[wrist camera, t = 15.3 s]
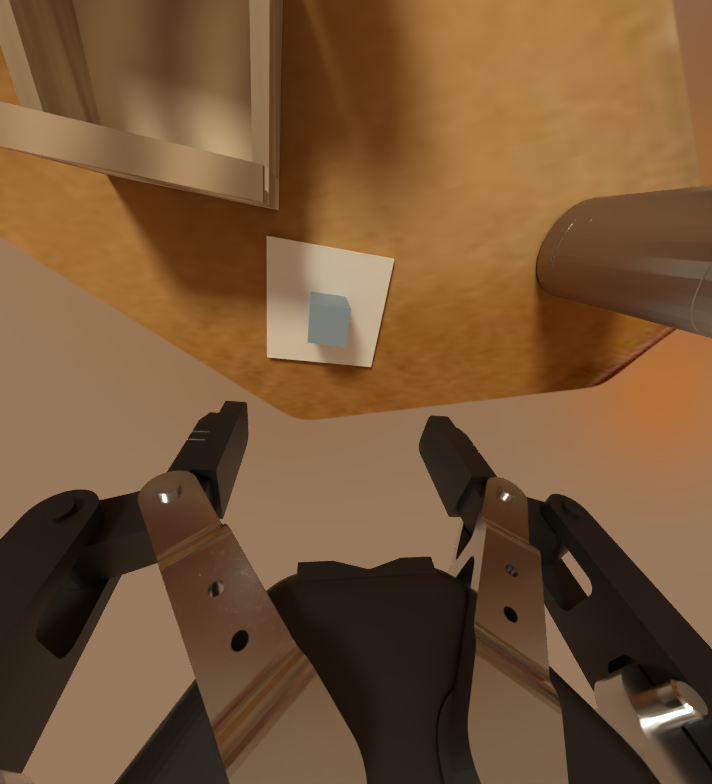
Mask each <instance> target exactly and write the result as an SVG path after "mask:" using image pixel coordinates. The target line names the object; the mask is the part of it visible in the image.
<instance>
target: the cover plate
mask: <svg viewBox="0 0 712 784" xmlns="http://www.w3.org/2000/svg"><path fill="white" fill-rule="evenodd" d="M393 264H394V259H392V258H387V257H382V256H376V255H371V254H365V253H360V252H354V251H349V250H343V249H338V248H332V247H327V246H321V245H316V244H310V243H305V242H299V241H294V240H288V239H283V238H277V237H272V236H267V357H269V358H280V359H290V360H301V361H311V362H322V363H333V364H343V365H354V366H364V367H371V365H372V361H373V356H374V351H375V347H376V342H377V338H378V333H379V328H380V324H381V319H382V314H383V310H384V305H385V301H386V296H387V291H388V287H389V282H390V277H391V273H392V268H393Z"/></svg>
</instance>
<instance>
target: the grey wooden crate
mask: <svg viewBox="0 0 712 784" xmlns="http://www.w3.org/2000/svg"><path fill="white" fill-rule="evenodd" d="M282 29H283V0H0V45H1V48H2V51H3V54H4V57H5V60H6V63H7V66H8V69H9V72H10V75H11V78H12V81H13V84H14V87H15V90H16V93H17V96H18V99H19V102H20V105H21V106H17V105H13V104H9V103H5V102H0V147H3V148H7V149H11V150H15V151H18V152H22V153H26V154H30V155H34V156H37V157H41V158H45V159H49V160H53V161H57V162H60V163H64V164H68V165H72V166H76V167H79V168H83V169H87V170H91V171H95V172H98V173H102V174H106V175H111V176H115V177H120V178H125V179H130V180H135V181H139V182H144V183H149V184H154V185H159V186H163V187H168V188H173V189H178V190H182V191H187V192H192V193H197V194H202V195H206V196H211V197H216V198H221V199H226V200H230V201H235V202H240V203H245V204H250V205H254V206H259V207H264V208H269V209H273V210H278V211H279V178H280V128H281V79H282Z"/></svg>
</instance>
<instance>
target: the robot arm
mask: <svg viewBox="0 0 712 784" xmlns="http://www.w3.org/2000/svg"><path fill="white" fill-rule="evenodd" d="M537 275H538V280H539V282H540V284H541V286H542V287H543V288H544V289H545V291H546V292H548V293H550V294H552V295H556V296H560V297H563V298H567V299H571V300H574V301H578V302H581V303H585V304H588V305H592V306H596V307H599V308H603V309H606V310H610V311H614V312H617V313H621V314H625V315H628V316H632V317H636V318H639V319H643V320H647V321H650V322H654V323H658V324H661V325H665V326H669V327H672V328H676V329H680V330H683V331H687V332H690V333H694V334H698V335H701V336H705V337H710V338H712V185H709V186H699V187H690V188H681V189H672V190H663V191H654V192H645V193H635V194H626V195H617V196H608V197H599V198H593V199H589V200H586V201H583V202H581V203H579V204H577V205H576V206H574V207H573V208H571V209H570V210H569V211H567V212H566V213H565V214H564V215H563V216H562V217H561V218H560V219H559V220H558V221H557V222H556V223H555V225H554V226H553V227H552V229H551V230H550V231H549V233H548V235H547V237H546V238H545V240H544V242H543V244H542V247H541V250H540V252H539V257H538V261H537ZM247 440H248V414H247V404H246V402H236V401H225V403H224V405H223V407H222V408H221V410H220V412H219V413H209V414H207V415H206V416H205V417H203V418H202V419H200V420H199V421H198V423H197V424H196V426H195V428H194V429H193V432H192V433H191V434H190V436H189V438H188V440H187V441H186V442H185V444H184V446H183V447H182V449H181V450H180V452H179V454H178V455H177V457H176V459H175V460H174V462H173V463H172V465H171V467H170V468H169V470H168V471H167V472H166V473H163V474H161V475H158V476H156V477H155V478H153V479H151V480H150V481H149V482H147V483H146V484H145V485H144V486H143V488H142V489H141V490H140V491H138V492H134V493H131V494H126V495H122V496H117V497H113V498H108V499H104V500H99V498H98V496H97V495H96V494H95V493H94V492H92V491H89V490H72V491H66V492H63V493H60V494H57V495H54V496H52V497H49V498H47V499H45V500H43V501H42V502H40V503H38V504H37V505H35V506H34V507H32V508H31V509H30V510H28V511H27V512H26V513H25V514H24V515H23V516H22V517H21V518H20V519H19V520H18V521H17V522H16V523H15V524H14V526H13V527H12V528H11V529H10V530H9V531H8V532H7V533H6V534H5V535H4V536H3V537H2V538H1V539H0V784H34V782H33V781H32V780H31V779H30V777H28V776H26V775H24V774H21V773H22V771H23V769H24V767H25V765H26V763H27V761H28V760H29V757H30V756H31V754H32V751H33V750H34V748H35V745H36V744H37V741H38V740H39V738H40V736H41V734H42V732H43V730H44V727H45V726H46V724H47V722H48V720H49V718H50V716H51V714H52V712H53V710H54V708H55V706H56V704H57V702H58V700H59V698H60V696H61V694H62V692H63V690H64V688H65V686H66V684H67V682H68V680H69V678H70V676H71V674H72V672H73V670H74V668H75V666H76V664H77V662H78V660H79V658H80V656H81V654H82V652H83V650H84V648H85V646H86V644H87V643H88V641H89V639H90V637H91V635H92V633H93V631H94V629H95V627H96V625H97V623H98V621H99V619H100V616H101V615H102V613H103V611H104V609H105V607H106V604H107V603H108V601H109V599H110V597H111V595H112V593H113V591H114V589H115V587H116V585H117V583H118V581H119V579H120V577H121V575H122V574H126V573H128V572H132V571H135V570H138V569H140V568H144V567H147V566H150V565H153V564H155V563H158V566H159V569H160V572H161V575H162V578H163V581H164V585H165V588H166V591H167V594H168V597H169V599H170V603H171V606H172V609H173V611H174V615H175V618H176V621H177V624H178V627H179V630H180V633H181V636H182V639H183V642H184V645H185V648H186V651H187V654H188V657H189V660H190V663H191V666H192V669H193V672H194V675H195V678H196V679H195V680H194V681H193V682H192V684H191V685H190V686H189V688H188V689H187V690H186V692H185V693H184V694H183V696H182V697H181V698H180V699H179V701H178V702H177V703H176V704H175V706H174V707H173V708H172V710H171V711H170V712H169V714H168V715H167V716H166V718H165V719H164V720H163V721H162V723H161V724H160V725H159V727H158V728H157V729H156V730H155V732H154V733H153V734H152V736H151V737H150V738H149V740H148V741H147V742H146V744H145V745H144V746H143V747H142V749H141V750H140V751H139V753H138V754H137V755H136V756H135V758H134V759H133V760H132V762H131V763H130V764H129V766H128V767H127V768H126V769H125V771H124V772H123V773H122V775H121V776H120V777H119V778H118V780H117V781H116V782H115V784H712V649H711V648H710V646H709V645H708V644H707V643H706V642H705V641H704V640H703V639H702V638H701V637H700V636H699V634H698V633H697V632H696V631H695V630H694V629H693V628H692V627H691V626H690V624H689V623H688V622H687V621H686V620H685V619H684V618H683V617H682V615H681V614H680V613H679V612H678V611H677V610H676V609H675V608H674V607H673V606H672V604H671V603H670V602H669V601H668V600H667V599H666V598H665V597H664V596H663V595H662V593H661V592H660V591H659V590H658V589H657V588H656V587H655V586H654V585H653V584H652V582H651V581H650V580H649V579H648V578H647V577H646V576H645V575H644V573H643V572H642V571H641V570H640V569H639V568H638V567H637V566H636V565H635V563H634V562H633V561H632V560H631V559H630V558H629V557H628V556H627V555H626V554H625V553H624V551H623V550H622V549H621V548H620V547H619V546H618V545H617V544H616V543H615V541H614V540H613V539H612V538H611V537H610V536H609V535H608V534H607V533H606V532H605V530H604V529H603V528H602V527H601V526H600V525H599V524H598V523H597V521H596V520H595V519H594V518H593V517H592V516H591V515H590V514H589V513H588V511H586V509H584V508H583V507H582V506H581V505H580V504H578V503H577V502H576V501H574V500H572V499H571V498H568V497H566V496H564V495H560V494H552V495H550V496H549V498H548V499H547V500H546V501H545V502H542V501H539V500H535V499H532V498H528V497H526V496H525V494H524V493H523V491H522V490H521V489H519V487H517V486H516V485H515V484H513V483H512V482H510V481H508V480H506V479H504V478H500V477H497V476H496V475H495V473H494V472H493V470H492V469H491V468H490V466H489V465H488V464H487V462H486V461H485V460H484V458H483V457H482V456H481V454H480V453H478V450H477V449H476V447H475V446H473V443H472V442H471V440H470V439H469V438H468V436H467V435H466V434H465V433H463V432H462V431H461V430H460V429H458V428H456V427H455V426H454V424H453V423H452V422H451V420H450V419H449V417H445V416H430V417H429V419H428V421H427V423H426V426H425V429H424V431H423V434H422V436H421V439H420V443H419V451H420V454H421V457H422V459H423V461H424V463H425V465H426V468H427V470H428V472H429V474H430V476H431V479H432V481H433V483H434V485H435V487H436V489H437V491H438V494H439V496H440V498H441V500H442V502H443V505H444V507H445V509H446V511H447V513H448V516H449V517H461V518H462V520H463V521H462V523H461V525H460V528H459V531H458V536H457V540H456V544H455V548H454V553H453V557H452V561H451V565H450V568H449V571H448V573H446V572H444V571H442V570H439V569H436V568H434V565H433V562H432V559H431V557H410V558H399V559H396V560H394V561H391V562H388V563H385V564H383V565H380V566H378V567H375V568H372V569H365V568H361V567H357V566H353V565H348V564H344V563H340V562H336V561H319V562H298V568H297V574H294V575H292V576H289V577H287V578H285V579H283V580H281V581H279V582H278V583H276V584H275V585H273V586H272V587H271V588H269V589H268V590H267V591H266V590H265V589H264V587H263V585H262V583H261V582H260V580H259V578H258V576H257V575H256V573H255V571H254V569H253V568H252V566H251V564H250V562H249V561H248V559H247V557H246V555H245V554H244V552H243V550H242V548H241V546H240V545H239V543H238V541H237V539H236V538H235V536H234V534H233V532H232V531H231V529H230V528H229V527H228V525H227V524H224V525H223V524H222V523H221V521H220V520H219V519H222V518H223V516H224V514H225V511H226V508H227V505H228V501H229V499H230V495H231V492H232V489H233V486H234V483H235V480H236V477H237V474H238V470H239V468H240V465H241V462H242V459H243V455H244V452H245V449H246V446H247ZM568 551H570V553H571V554H572V555H573V557H574V558H575V559H576V561H577V562H578V564H579V565H580V566H581V568H582V569H583V570H584V572H585V573H586V575H587V576H588V577H589V579H590V581H591V584H592V593H591V595H590V596H587V595H586V593H585V592H584V591H583V589H582V588H581V586H580V585H579V584H578V582H577V581H576V579H575V578H574V576H573V575H572V573H571V572H570V570H569V569H568V567H567V566H566V565H565V563H564V562H563V560H562V559H561V558H562V557H563V556H564V555H565V554H566V553H567V552H568ZM544 604H545V606H546V608H547V609H548V611H549V613H550V615H551V616H552V618H553V620H554V622H555V623H556V625H557V627H558V629H559V631H560V632H561V634H562V636H563V638H564V640H565V641H566V643H567V645H568V646H569V648H570V650H571V652H572V654H573V656H574V657H575V659H576V661H577V663H578V664H579V666H580V668H581V670H582V672H583V673H584V675H585V677H586V679H587V680H588V682H589V684H590V686H591V688H592V689H593V691H594V694H595V699H596V703H597V706H598V708H597V709H595V710H594V709H593V708H592V707H591V706H590V705H589V704H588V703H587V702H586V701H585V700H584V699H583V698H582V697H581V696H579V694H577V692H575V691H574V690H573V689H572V688H571V687H570V686H569V685H568V684H567V683H566V682H565V681H564V680H563V679H562V678H561V677H560V676H559V675H558V674H557V673H556V672H555V671H554V670H553V669H552V668H551V667H550V666H549V664H548V651H547V637H546V623H545V609H544Z"/></svg>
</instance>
